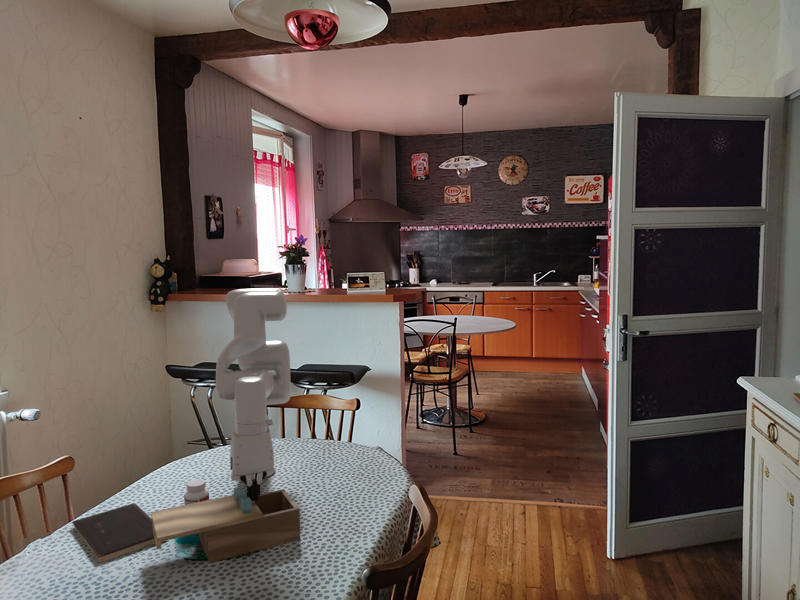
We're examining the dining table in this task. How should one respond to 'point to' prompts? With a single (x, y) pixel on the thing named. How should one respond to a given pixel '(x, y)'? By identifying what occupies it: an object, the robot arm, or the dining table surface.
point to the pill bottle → (196, 492)
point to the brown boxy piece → (256, 529)
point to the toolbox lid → (203, 516)
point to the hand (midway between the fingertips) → (253, 498)
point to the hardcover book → (116, 531)
